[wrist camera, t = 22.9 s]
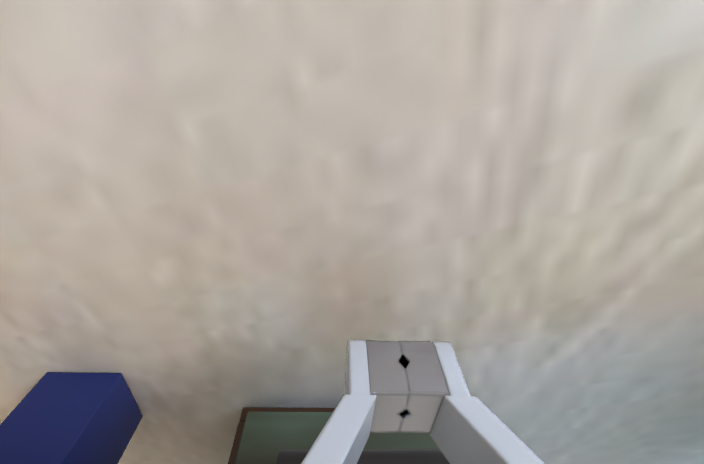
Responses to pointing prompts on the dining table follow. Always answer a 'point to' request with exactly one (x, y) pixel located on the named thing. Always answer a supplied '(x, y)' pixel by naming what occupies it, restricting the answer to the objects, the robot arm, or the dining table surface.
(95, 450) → the pencil box
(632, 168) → the dining table surface
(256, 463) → the drawer
